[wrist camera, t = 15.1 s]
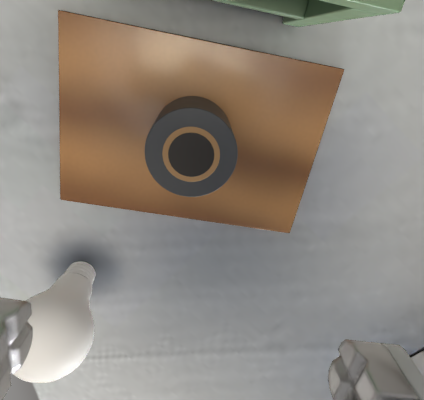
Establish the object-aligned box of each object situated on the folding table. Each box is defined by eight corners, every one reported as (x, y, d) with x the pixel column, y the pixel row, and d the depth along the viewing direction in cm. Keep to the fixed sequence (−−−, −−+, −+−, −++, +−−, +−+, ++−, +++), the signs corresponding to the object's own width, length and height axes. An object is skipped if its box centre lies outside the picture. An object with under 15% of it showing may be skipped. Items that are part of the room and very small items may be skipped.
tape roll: (222, 177, 27) (227, 203, 23) (149, 165, 26) (139, 190, 22) (239, 104, 25) (247, 117, 20) (158, 88, 24) (149, 99, 20)
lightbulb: (130, 268, 31) (98, 373, 21) (89, 302, 33) (42, 414, 23) (78, 227, 29) (16, 323, 19) (37, 266, 31) (-40, 373, 21)
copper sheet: (288, 231, 30) (289, 233, 30) (62, 197, 28) (60, 199, 28) (342, 69, 24) (344, 69, 24) (60, 10, 22) (58, 9, 22)
